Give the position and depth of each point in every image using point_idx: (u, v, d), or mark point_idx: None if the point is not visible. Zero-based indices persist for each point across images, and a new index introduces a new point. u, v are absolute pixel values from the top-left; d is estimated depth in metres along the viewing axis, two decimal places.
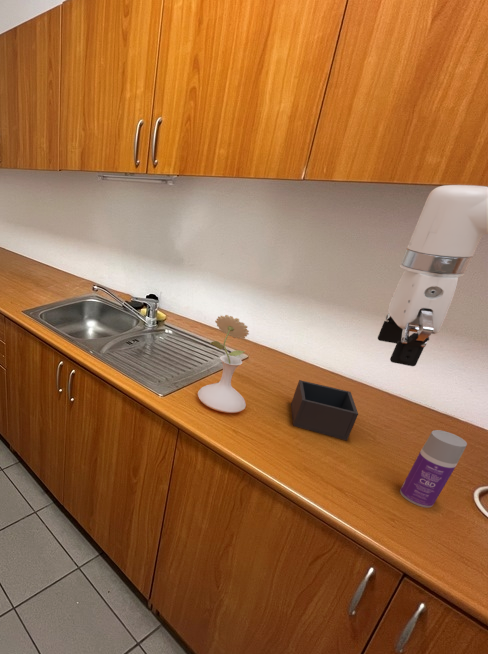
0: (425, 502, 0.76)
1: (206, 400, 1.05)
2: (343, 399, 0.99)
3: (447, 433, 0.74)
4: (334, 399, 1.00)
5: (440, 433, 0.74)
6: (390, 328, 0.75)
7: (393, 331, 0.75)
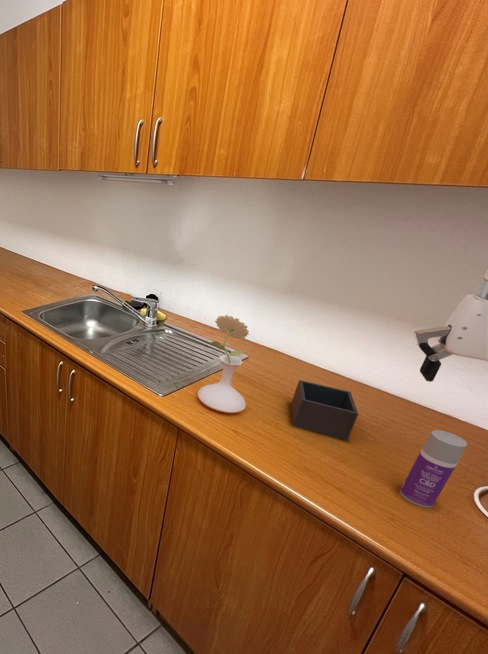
0: (425, 502, 0.76)
1: (206, 400, 1.05)
2: (343, 399, 0.99)
3: (447, 433, 0.74)
4: (334, 399, 1.00)
5: (440, 433, 0.74)
6: None
7: None
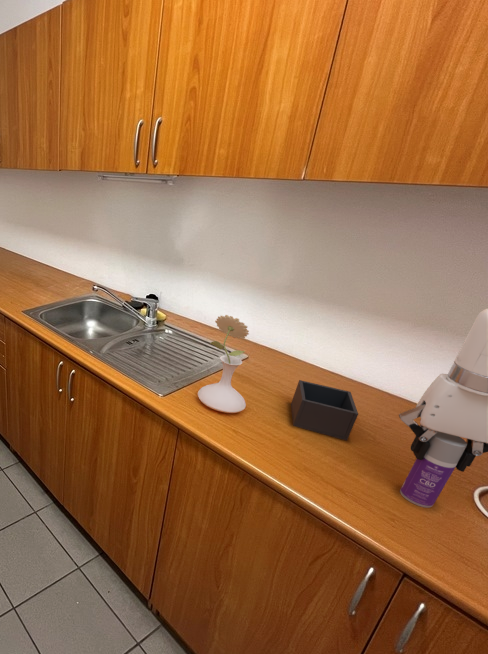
0: (425, 502, 0.76)
1: (206, 400, 1.05)
2: (343, 399, 0.99)
3: None
4: (334, 399, 1.00)
5: (440, 433, 0.74)
6: None
7: None
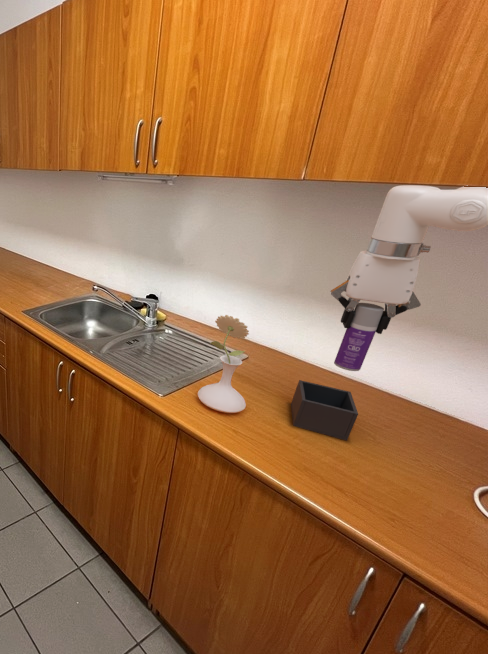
0: (353, 366, 0.89)
1: (206, 400, 1.05)
2: (343, 399, 0.99)
3: (369, 304, 0.87)
4: (334, 399, 1.00)
5: (363, 304, 0.87)
6: None
7: None
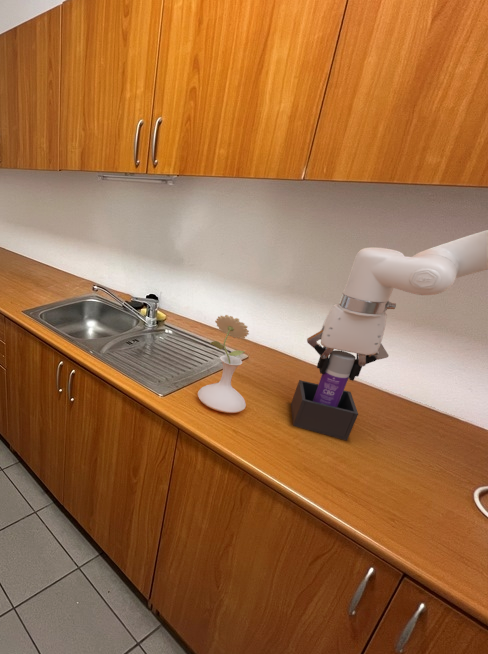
0: None
1: (206, 400, 1.05)
2: (343, 399, 0.99)
3: (343, 352, 0.93)
4: None
5: (337, 352, 0.93)
6: None
7: None
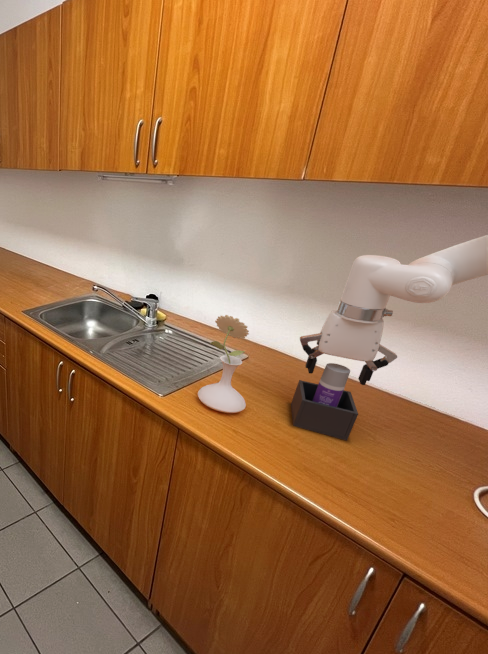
0: None
1: (206, 400, 1.05)
2: (343, 399, 0.99)
3: (338, 365, 0.95)
4: None
5: (332, 365, 0.95)
6: (315, 362, 0.95)
7: None
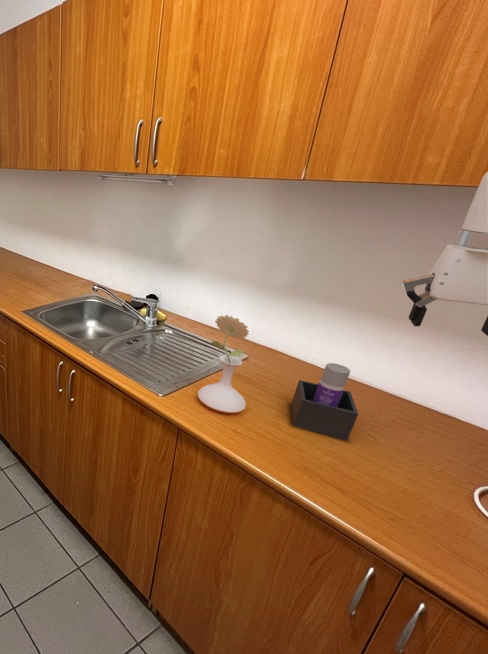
0: None
1: (206, 400, 1.05)
2: (343, 399, 0.99)
3: (338, 365, 0.95)
4: None
5: (332, 365, 0.95)
6: None
7: None
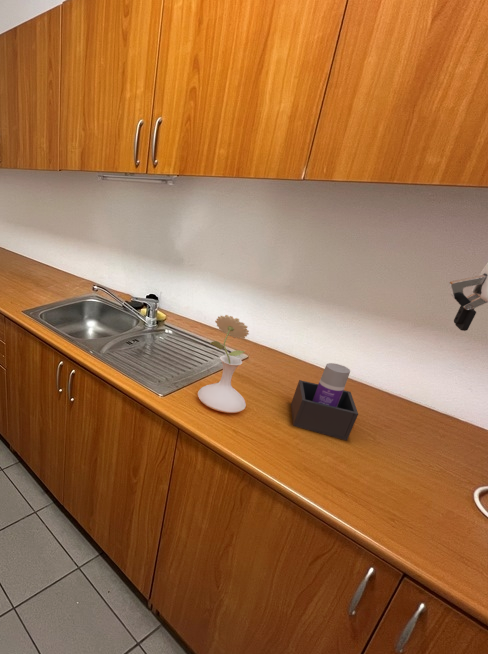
0: None
1: (206, 400, 1.05)
2: (343, 399, 0.99)
3: (338, 365, 0.95)
4: None
5: (332, 365, 0.95)
6: None
7: None
